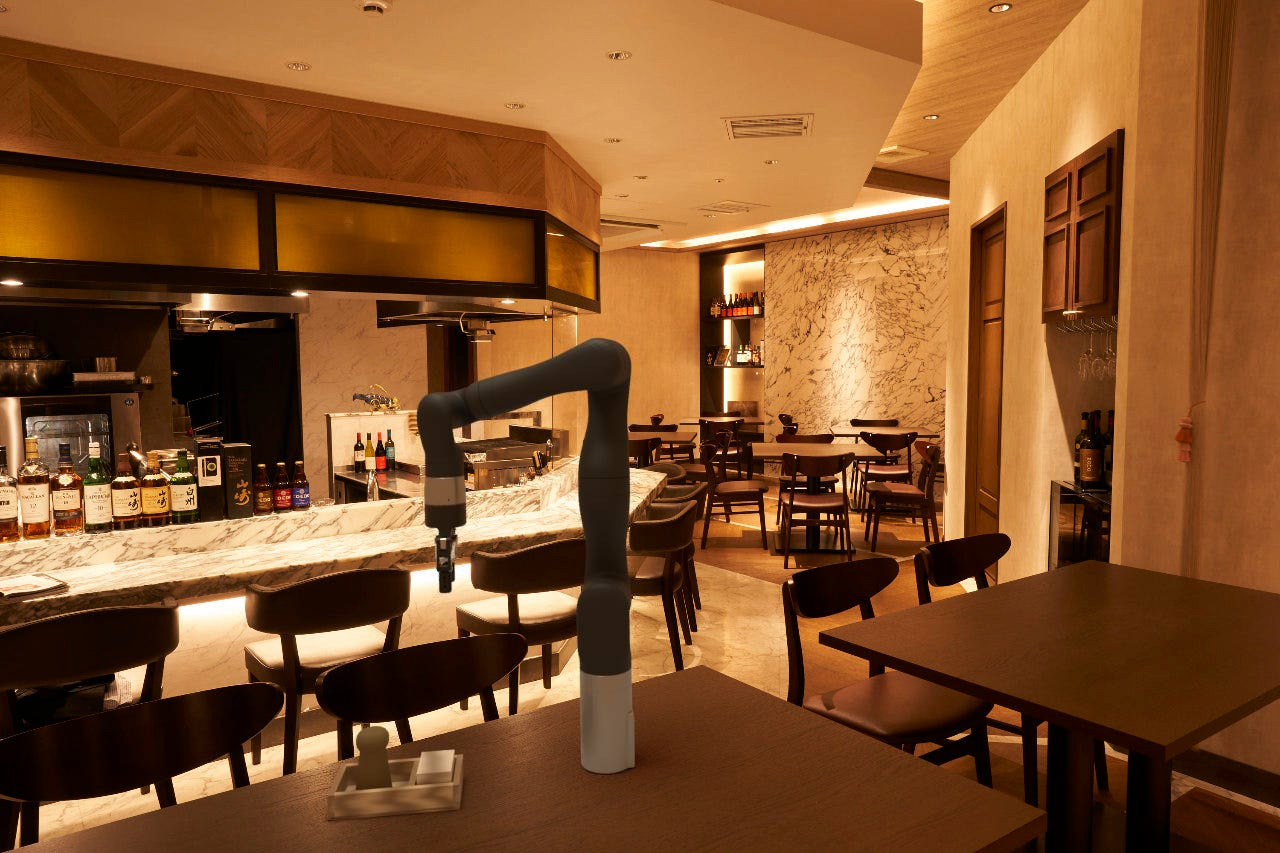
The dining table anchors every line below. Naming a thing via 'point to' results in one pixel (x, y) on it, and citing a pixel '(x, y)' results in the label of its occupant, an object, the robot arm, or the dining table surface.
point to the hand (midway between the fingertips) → (447, 587)
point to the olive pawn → (373, 759)
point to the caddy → (400, 788)
